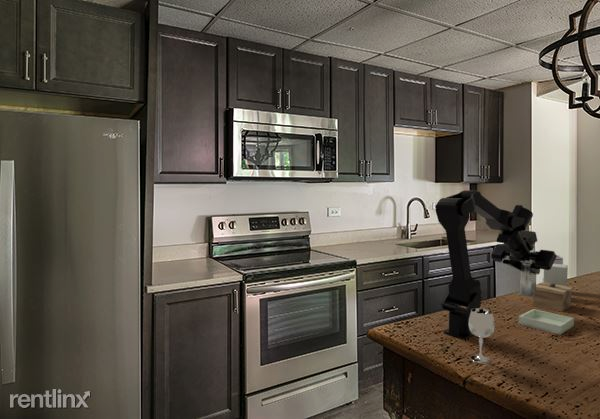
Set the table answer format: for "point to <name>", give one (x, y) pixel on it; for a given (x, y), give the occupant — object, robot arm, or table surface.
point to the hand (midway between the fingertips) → (530, 271)
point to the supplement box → (556, 275)
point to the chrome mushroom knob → (527, 280)
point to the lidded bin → (552, 296)
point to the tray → (546, 321)
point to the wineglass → (481, 329)
